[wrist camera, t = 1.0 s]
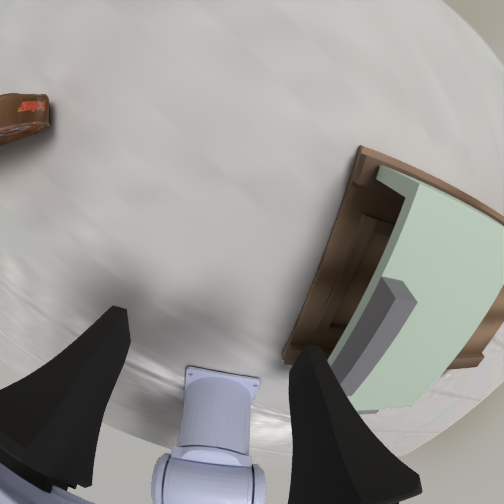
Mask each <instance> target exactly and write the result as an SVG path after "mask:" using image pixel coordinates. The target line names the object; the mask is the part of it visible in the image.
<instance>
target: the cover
mask: <svg viewBox="0 0 504 504" xmlns="http://www.w3.org/2000/svg"><path fill="white" fill-rule="evenodd" d="M376 179H377V180H378V181H380V182H382V183H383V184H385V185H387V186H388V187H390V188H391V189H393V190H395V191H396V192H398V193H399V194H401V195H402V196H404V197H406V198H405V201H404V204H403V206H402V209H401V212H400V214H399V217H398V219H397V222H396V224H395V227H394V229H393V232H392V234H391V237H390V239H389V241H388V244H387V246H386V248H385V251H384V253H383V255H382V257H381V260H380V262H379V264H378V266H377V268H376V271H375V273H374V275H373V277H372V279H371V281H370V283H369V285H368V287H367V289H366V291H365V293H364V295H363V297H362V299H361V301H360V303H359V305H358V307H357V309H356V311H355V313H354V315H353V316H352V318H351V320H350V322H349V324H348V326H347V327H346V329H345V331H344V333H343V335H342V336H341V338H340V340H339V341H338V343H337V345H336V347H335V348H334V350H333V352H332V353H331V355H330V357H329V358H328V360H327V361H328V363H329V365H330V367H331V369H332V371H333V373H334V374H335V376H336V378H337V380H338V382H339V384H340V385H341V387H342V389H343V390H344V392H345V394H346V396H347V397H348V399H349V400H350V402H351V404H352V405H353V407H354V408H355V410H356V411H361V410H380V409H393V408H404V407H411V406H412V405H413V404H414V403H415V402H416V401H417V400H418V399H419V398H420V397H421V396H422V395H423V394H424V393H425V392H426V391H427V390H428V389H429V388H430V387H431V386H432V385H433V383H434V382H435V381H436V380H437V379H438V378H439V377H440V376H441V374H442V373H443V372H444V371H445V370H446V368H447V367H448V366H449V365H450V364H451V362H452V361H453V360H454V359H455V357H456V356H457V355H458V354H459V352H460V351H461V350H462V348H463V347H464V346H465V344H466V343H467V342H468V340H469V339H470V337H471V336H472V335H473V333H474V332H475V330H476V329H477V327H478V326H479V324H480V323H481V321H482V320H483V318H484V317H485V315H486V314H487V312H488V311H489V309H490V307H491V306H492V304H493V302H494V301H495V299H496V297H497V295H498V294H499V292H500V290H501V288H502V286H503V285H504V226H503V225H501V224H500V223H498V222H497V221H495V220H494V219H492V218H491V217H489V216H487V215H486V214H484V213H482V212H481V211H479V210H477V209H475V208H473V207H472V206H470V205H468V204H466V203H464V202H462V201H460V200H458V199H456V198H455V197H453V196H451V195H449V194H447V193H445V192H442V191H440V190H438V189H436V188H434V187H432V186H430V185H428V184H426V183H423V182H421V181H419V180H417V179H414V178H412V177H410V176H407V175H405V174H403V173H400V172H398V171H395V170H393V169H390V168H388V167H385V166H383V165H380V168H379V171H378V174H377V177H376Z"/></svg>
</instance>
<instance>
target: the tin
mask: <svg viewBox="0 0 504 504" xmlns="http://www.w3.org/2000/svg"><path fill="white" fill-rule="evenodd" d="M49 126H50V124H49V99H48V96H47V95H45V94H41V95H37V94H18V93H9V94H3V95H0V146H1V145H4V144H6V143H9V142H12V141H14V140H17V139H20V138H23V137H26V136H29V135H32V134H35V133H38V132H41V131H43V130H45V129H47V128H49Z"/></svg>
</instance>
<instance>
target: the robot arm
mask: <svg viewBox="0 0 504 504" xmlns="http://www.w3.org/2000/svg"><path fill="white" fill-rule="evenodd" d="M130 343H131V339H130V332H129V324H128V316H127V309H124V308H120V307H117V306H112V307H110V308H109V309H108V310H107V311H106V312H105V313H104V314H103V315H102V316H101V317H100V318H99V319H98V320H97V321H96V322H95V323H94V324H93V325H92V326H90V327H89V328H88V329H87V330H86V331H85V332H84V333H83V334H82V335H81V336H80V337H78V338H77V339H76V340H75V341H74V342H73V343H72V344H70V345H69V346H68V347H67V348H66V349H64V350H63V351H62V352H61V353H60V354H58V355H57V356H56V357H54V358H53V359H52V360H50V361H49V362H48V363H46V364H45V365H43V366H42V367H41V368H39V369H37V370H36V371H34V372H33V373H31V374H30V375H28V376H26V377H25V378H23V379H21V380H19V381H17V382H15V383H13V384H11V385H9V386H7V387H5V388H3V389H1V390H0V504H94V503H92V502H89V501H87V500H85V499H82V498H80V497H78V496H76V495H74V494H71V493H69V492H67V489H68V486H69V487H71V488H73V489H76V486H77V484H78V485H80V486H82V487H84V488H86V487H89V486H91V485H92V476H93V466H94V458H95V452H96V446H97V441H98V436H99V431H100V427H101V423H102V419H103V415H104V412H105V409H106V406H107V403H108V401H109V398H110V396H111V393H112V391H113V388H114V386H115V384H116V381H117V379H118V377H119V374H120V372H121V370H122V367H123V365H124V362H125V359H126V356H127V353H128V349H129V346H130ZM260 384H261V380H260V379H259V378H253V377H246V376H239V375H233V374H227V373H222V372H216V371H211V370H206V369H201V368H196V367H191V366H190V367H187V370H186V380H185V391H184V404H183V408H184V411H183V416H182V421H181V426H180V431H179V436H178V441H177V446H176V447H175V446H173V447H172V452H171V454H168V453H165V454H164V455H163V456H161V457H159V458H158V460H157V462H156V464H155V467H154V471H153V475H152V483H151V496H152V500H153V504H265V494H266V482H265V474H264V471H263V470H262V469H261V468H260V466H259V465H258V464H252V456H249V443H250V408H251V404H252V402H253V400H254V397H255V395H256V393H257V391H258V389H259V387H260ZM289 404H290V415H291V426H292V438H293V456H292V473H291V485H290V492H289V500H288V504H399V502H400V501H403V500H406V499H408V498H411V497H414V496H417V495H419V494H421V493H422V487H421V482H420V477H419V475H418V474H417V473H416V472H415V471H413V470H412V469H410V468H409V467H408V466H406V465H405V464H404V463H403V462H401V461H400V460H399V459H398V458H397V457H396V456H395V455H394V454H392V453H391V452H390V451H389V450H388V449H387V448H386V447H385V446H384V445H383V443H382V442H381V441H380V440H379V439H378V438H377V437H376V436H375V435H374V434H373V432H372V431H371V430H370V429H369V428H368V426H367V425H366V424H365V422H364V421H363V420H362V418H361V417H360V416H359V414H358V413H357V411H356V410H355V408H354V407H353V405H352V404H351V402H350V400H349V399H348V397H347V396H346V394H345V392H344V390H343V389H342V387H341V385H340V384H339V382H338V380H337V378H336V376H335V374H334V373H333V371H332V369H331V367H330V365H329V363H328V361H327V359H326V357H325V355H324V354H323V352H322V350H321V348H320V346H316V345H307V344H305V346H304V348H303V349H302V351H301V353H300V355H299V356H298V358H297V360H296V362H295V363H294V365H293V367H292V368H291V370H290V372H289Z"/></svg>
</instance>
